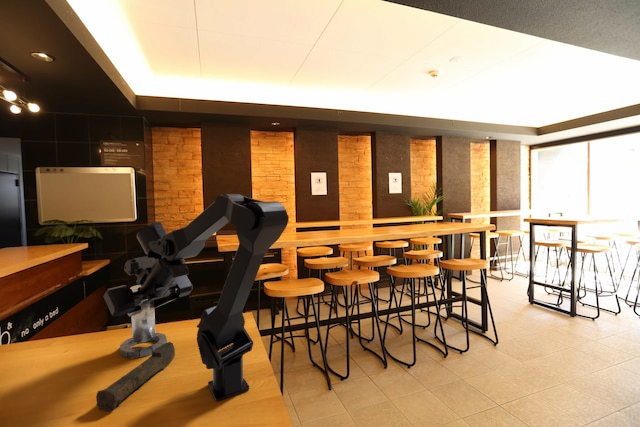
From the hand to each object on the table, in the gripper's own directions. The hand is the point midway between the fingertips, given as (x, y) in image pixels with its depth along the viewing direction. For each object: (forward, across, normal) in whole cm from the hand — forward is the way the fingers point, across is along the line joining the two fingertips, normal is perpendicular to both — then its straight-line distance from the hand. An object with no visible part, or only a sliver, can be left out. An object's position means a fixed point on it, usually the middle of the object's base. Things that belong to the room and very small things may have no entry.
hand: (140, 311), depth 77 cm
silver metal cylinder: (+4, 0, +6) cm, 7 cm away
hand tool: (-4, +8, +17) cm, 19 cm away
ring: (+6, 0, +7) cm, 9 cm away
